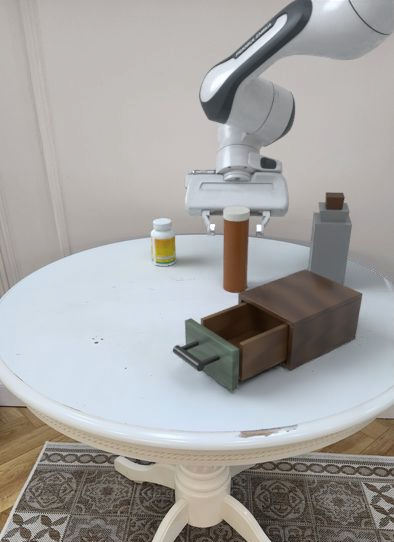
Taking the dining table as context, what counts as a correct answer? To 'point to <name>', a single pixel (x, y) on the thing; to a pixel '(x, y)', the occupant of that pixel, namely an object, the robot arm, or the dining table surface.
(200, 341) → the drawer
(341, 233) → the perfume bottle
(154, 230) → the supplement bottle
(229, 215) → the pill bottle
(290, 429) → the dining table surface
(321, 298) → the cabinet
